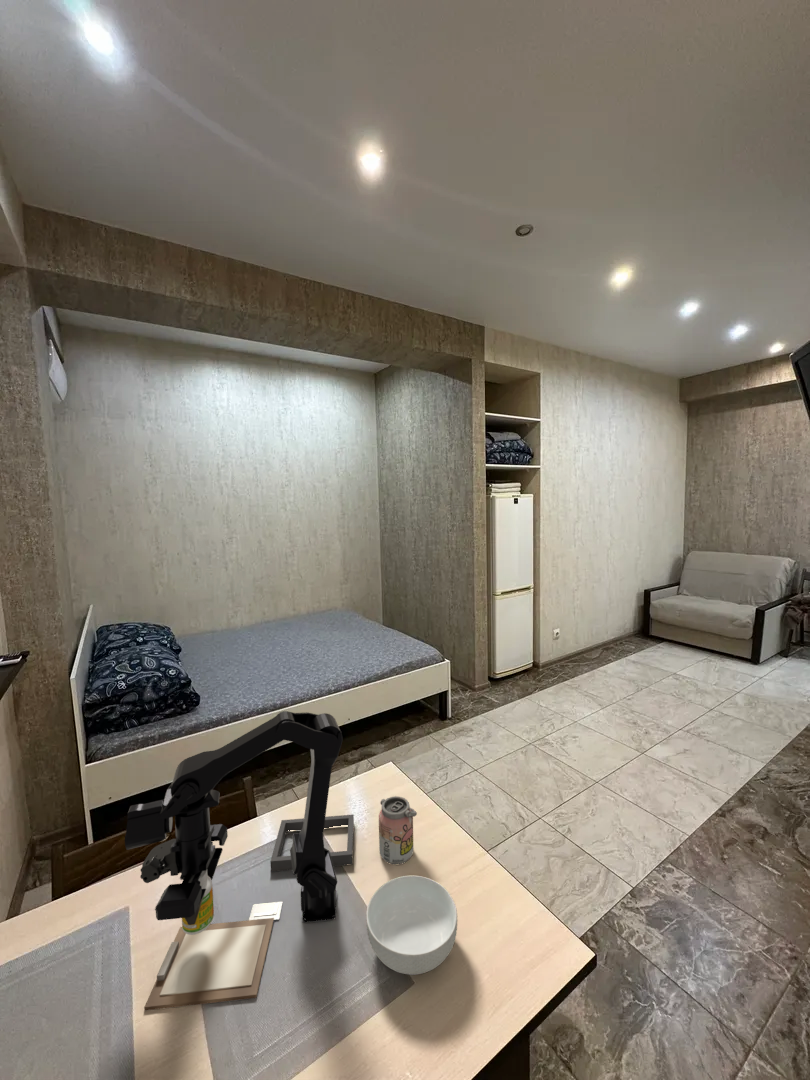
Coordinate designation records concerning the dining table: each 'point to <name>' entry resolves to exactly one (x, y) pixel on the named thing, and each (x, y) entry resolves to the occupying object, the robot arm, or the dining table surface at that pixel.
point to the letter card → (266, 911)
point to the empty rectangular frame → (297, 824)
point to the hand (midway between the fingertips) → (198, 909)
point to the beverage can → (396, 830)
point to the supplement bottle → (202, 908)
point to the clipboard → (212, 965)
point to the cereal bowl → (411, 924)
